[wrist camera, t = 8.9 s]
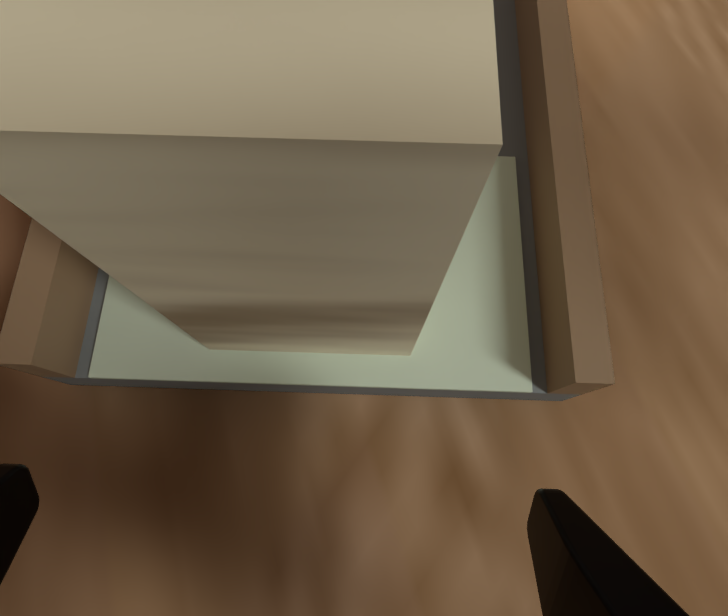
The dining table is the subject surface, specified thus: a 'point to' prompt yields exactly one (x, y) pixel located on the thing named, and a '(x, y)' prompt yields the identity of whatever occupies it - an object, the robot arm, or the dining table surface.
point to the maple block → (256, 156)
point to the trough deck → (451, 306)
